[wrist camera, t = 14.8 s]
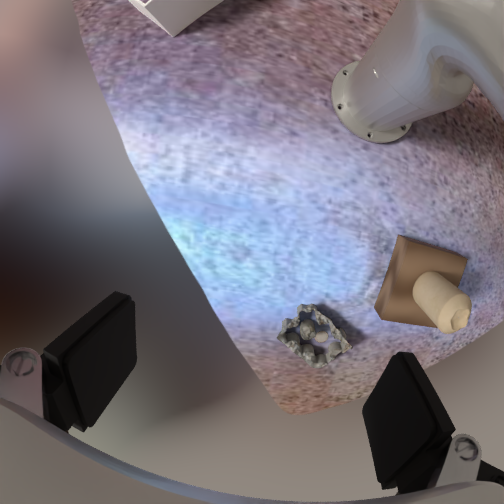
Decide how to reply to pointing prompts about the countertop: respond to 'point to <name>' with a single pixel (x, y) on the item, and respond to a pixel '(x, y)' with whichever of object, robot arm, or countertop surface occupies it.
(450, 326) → the candle
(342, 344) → the egg carton
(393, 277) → the plinth
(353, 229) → the countertop surface
